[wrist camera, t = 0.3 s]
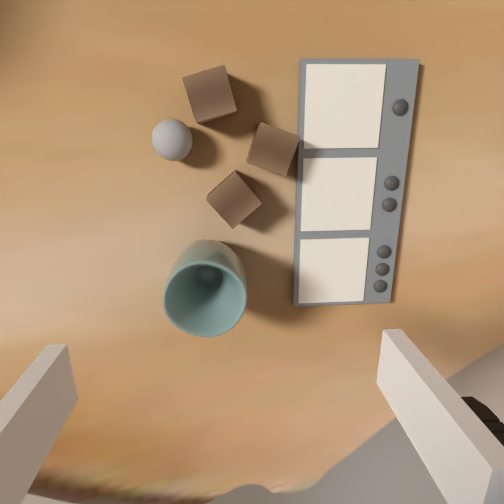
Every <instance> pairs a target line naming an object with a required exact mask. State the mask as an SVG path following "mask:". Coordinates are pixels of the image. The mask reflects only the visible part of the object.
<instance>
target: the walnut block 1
mask: <svg viewBox="0 0 504 504" xmlns="http://www.w3.org/2000/svg"><path fill="white" fill-rule="evenodd" d="M182 79H183V82H184V85H185V88H186V91H187V95H188V98H189V101H190V104H191V108H192V111H193V114H194V117H195V121H196V123H198V124H201V123H205V122H208V121H211V120H215V119H218V118H222V117H225V116H228V115H232V114H235V113H236V112H237V109H236V105H235V102H234V98H233V94H232V90H231V87H230V83H229V79H228V76H227V72H226V68H225V65H222V66H219V67H216V68H212V69H209V70H206V71H202V72H199V73H196V74H192V75H189V76H185V77H182Z"/></svg>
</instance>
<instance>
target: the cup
mask: <svg viewBox="0 0 504 504" xmlns="http://www.w3.org/2000/svg"><path fill="white" fill-rule="evenodd" d="M247 295H248V290H247V282H246V276H245V272H244V268H243V265H242V262H241V260H240V258H239V257H238V255H237V254H236V253H235V252H234V251H233V250H232V249H231V248H230V247H229V246H227V245H225V244H223V243H221V242H218V241H215V240H199V241H196V242H194V243H192V244H190V245H189V246H188V247H187V248H185V249H184V251H183V252H182V253H181V254H180V255H179V257H178V258H177V260H176V262H175V264H174V265H173V267H172V269H171V272H170V274H169V277H168V279H167V282H166V285H165V288H164V293H163V308H164V311H165V314H166V316H167V317H168V319H169V320H170V321H171V322H172V323H173V324H174V325H175V326H176V327H178V328H179V329H180V330H182V331H184V332H186V333H188V334H191V335H195V336H200V337H215V336H219V335H222V334H224V333H226V332H228V331H229V330H231V329H232V328H233V327H234V326H235V325H236V324H237V323H238V322H239V320H240V319H241V317H242V315H243V313H244V311H245V308H246V304H247Z"/></svg>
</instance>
